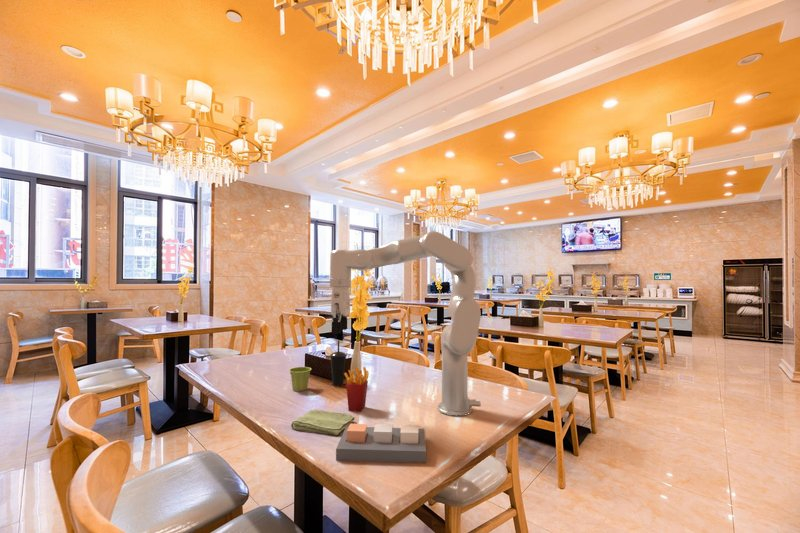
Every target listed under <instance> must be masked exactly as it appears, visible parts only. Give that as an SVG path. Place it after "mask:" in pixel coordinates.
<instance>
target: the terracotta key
mask: <svg viewBox="0 0 800 533" xmlns="http://www.w3.org/2000/svg"><path fill="white" fill-rule="evenodd" d="M347 427H348V430H347V442H365V440H366V437H367V427H368V424H367V423H350V424H349V425H348V426H347Z"/></svg>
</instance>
